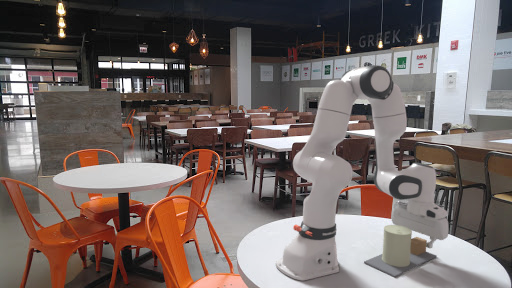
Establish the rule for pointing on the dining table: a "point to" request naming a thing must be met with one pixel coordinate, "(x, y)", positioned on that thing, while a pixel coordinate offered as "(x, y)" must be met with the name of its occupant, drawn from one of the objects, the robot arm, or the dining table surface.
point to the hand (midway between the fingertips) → (416, 243)
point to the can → (396, 245)
